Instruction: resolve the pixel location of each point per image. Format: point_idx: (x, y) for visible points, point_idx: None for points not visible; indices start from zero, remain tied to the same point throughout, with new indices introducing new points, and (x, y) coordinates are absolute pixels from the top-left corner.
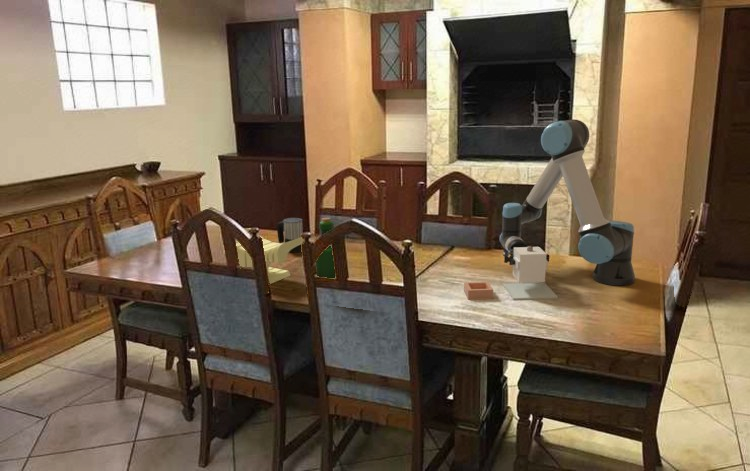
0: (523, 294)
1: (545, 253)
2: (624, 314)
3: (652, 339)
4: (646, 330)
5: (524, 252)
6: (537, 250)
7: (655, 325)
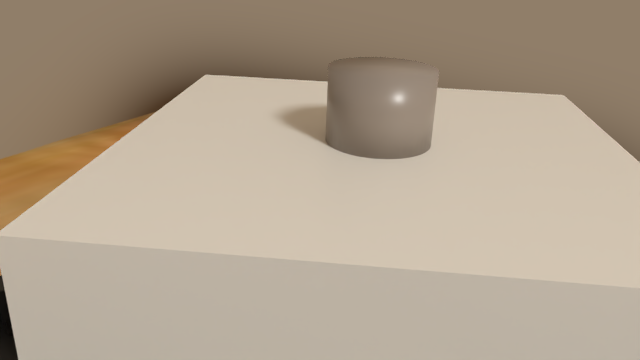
0: None
1: (205, 79)
2: (11, 211)
3: (125, 127)
4: (82, 147)
5: (493, 116)
6: (232, 131)
7: (13, 157)
